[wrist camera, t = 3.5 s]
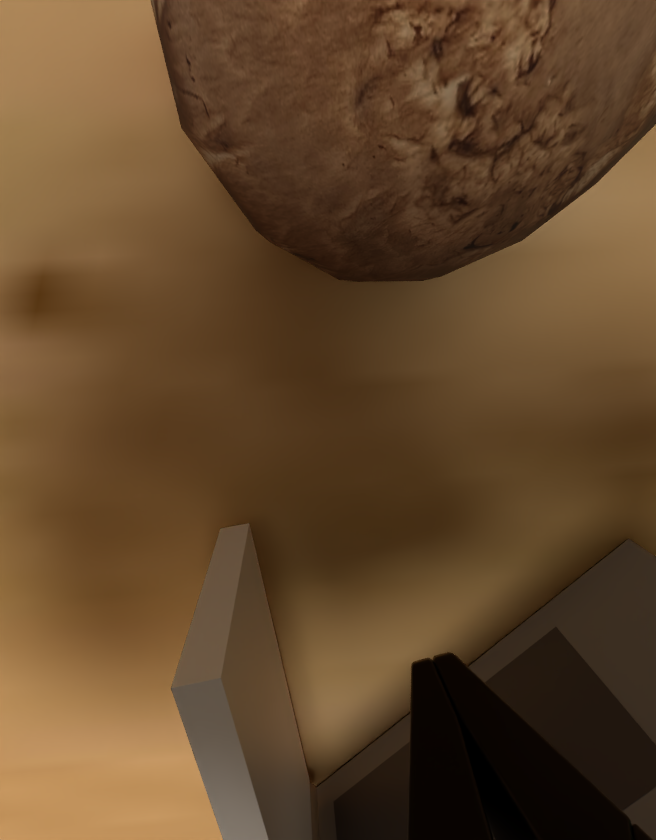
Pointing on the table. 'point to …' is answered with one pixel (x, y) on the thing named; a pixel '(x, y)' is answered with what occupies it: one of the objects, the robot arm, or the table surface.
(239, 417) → the table surface
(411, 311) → the table surface
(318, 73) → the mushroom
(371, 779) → the block
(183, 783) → the table surface
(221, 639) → the side door
